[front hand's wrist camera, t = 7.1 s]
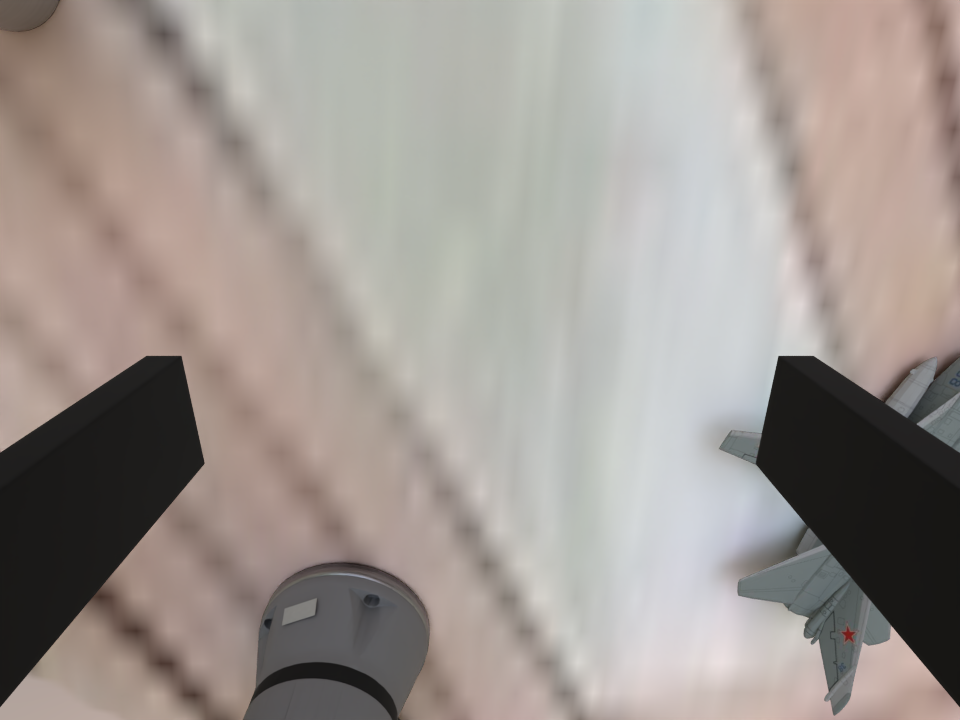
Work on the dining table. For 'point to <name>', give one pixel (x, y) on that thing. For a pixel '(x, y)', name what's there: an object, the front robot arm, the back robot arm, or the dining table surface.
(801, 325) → the dining table surface
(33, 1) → the bottle
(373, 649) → the back robot arm
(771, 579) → the airplane
